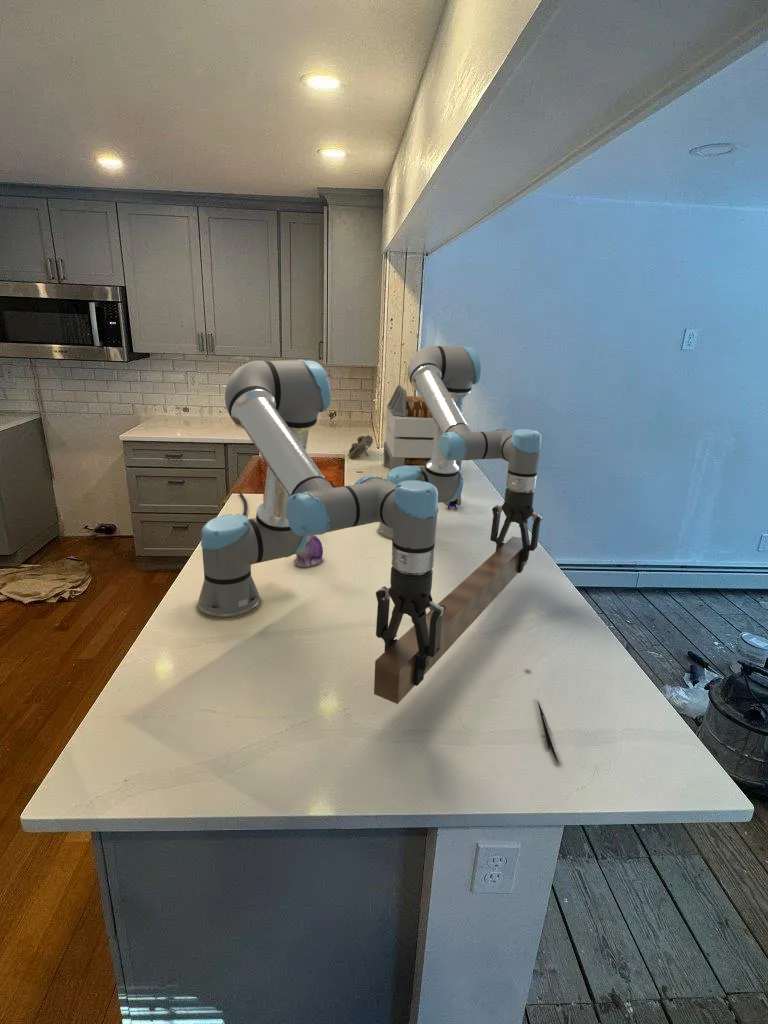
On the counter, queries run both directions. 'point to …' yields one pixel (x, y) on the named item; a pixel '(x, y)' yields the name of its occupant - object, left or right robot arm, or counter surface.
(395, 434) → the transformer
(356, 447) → the fossil
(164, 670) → the counter surface
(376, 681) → the bar
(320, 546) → the figurine
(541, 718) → the feather
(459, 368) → the right robot arm
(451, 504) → the figurine character
